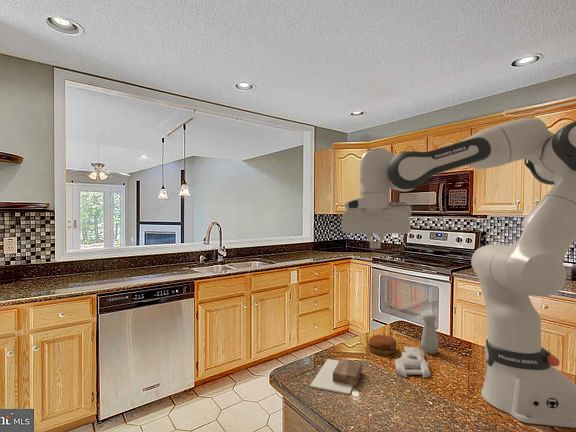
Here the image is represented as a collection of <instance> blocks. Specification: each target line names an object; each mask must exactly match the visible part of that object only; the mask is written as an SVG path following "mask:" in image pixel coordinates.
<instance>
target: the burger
mask: <svg viewBox="0 0 576 432" xmlns="http://www.w3.org/2000/svg"><path fill="white" fill-rule="evenodd" d="M367 348H368V350H369V352H371V353H372V354H376V355H379V356H390V355H392V354H394V352H395V351H397V340H396V339H395V338H394V337H392V336H389V335H386V334H379V333H378V334H374V335H372V336H371V337H369V339H368V342H367Z"/></svg>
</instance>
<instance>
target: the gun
mask: <svg viewBox="0 0 576 432" xmlns="http://www.w3.org/2000/svg"><path fill="white" fill-rule="evenodd" d="M424 353H425V352H424V351H423V349H421V347H415V346H403V351H401V357H398V358H396V359H395V360H394V366H395V373H396V374H397V375H399V376H401V377H404V378H406V379H407V378H408V375H416V376H417V375H420V376H421V375H422V378H429V377H431V371H430V368H429V362H428V361H427V360H426V359H425V358H424V357H425V356H424Z"/></svg>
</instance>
